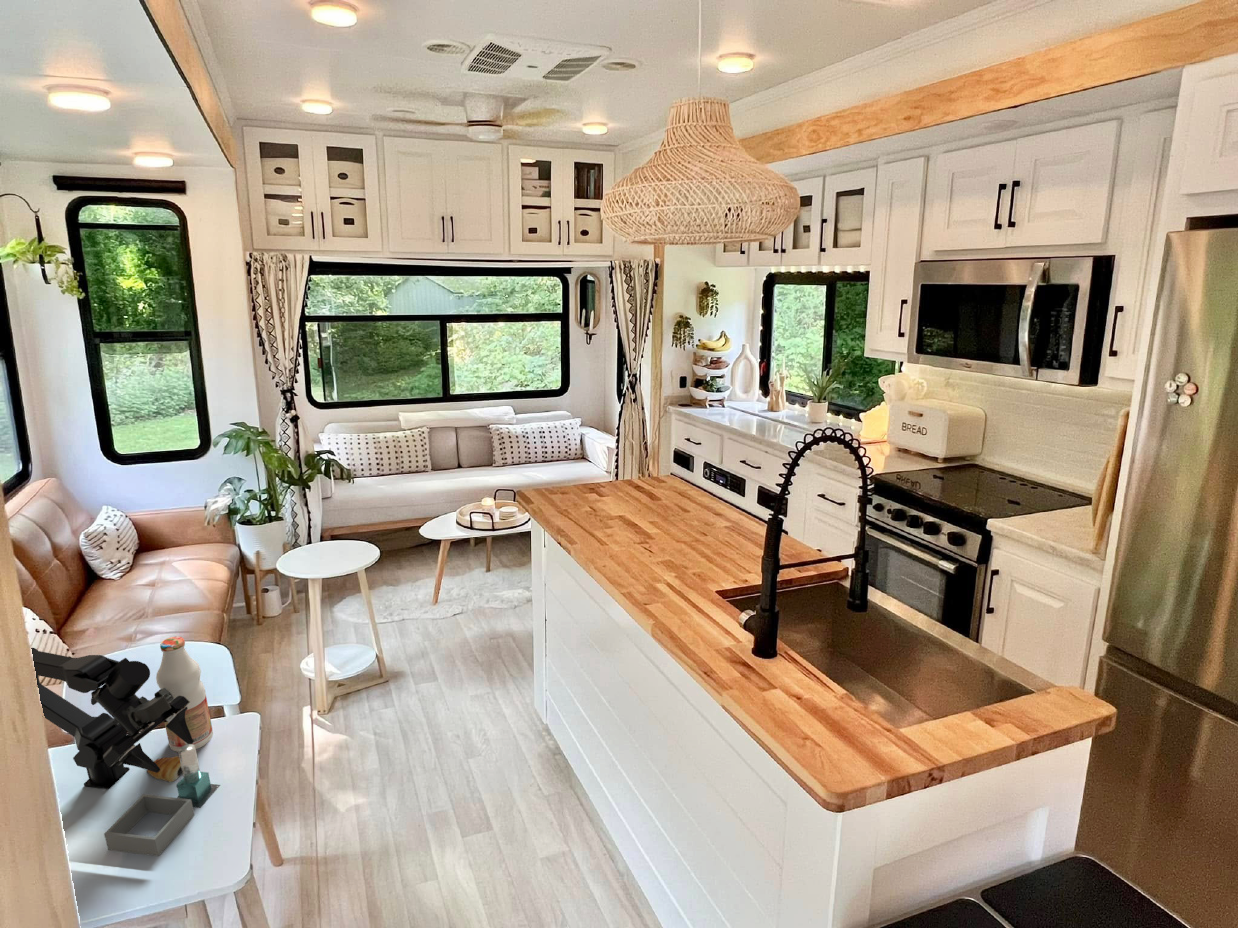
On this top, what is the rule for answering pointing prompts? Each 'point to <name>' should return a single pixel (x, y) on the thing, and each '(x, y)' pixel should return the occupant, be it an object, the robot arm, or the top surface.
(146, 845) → the bin
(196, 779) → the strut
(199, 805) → the stud stand
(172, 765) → the pastry
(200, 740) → the fruit juice
